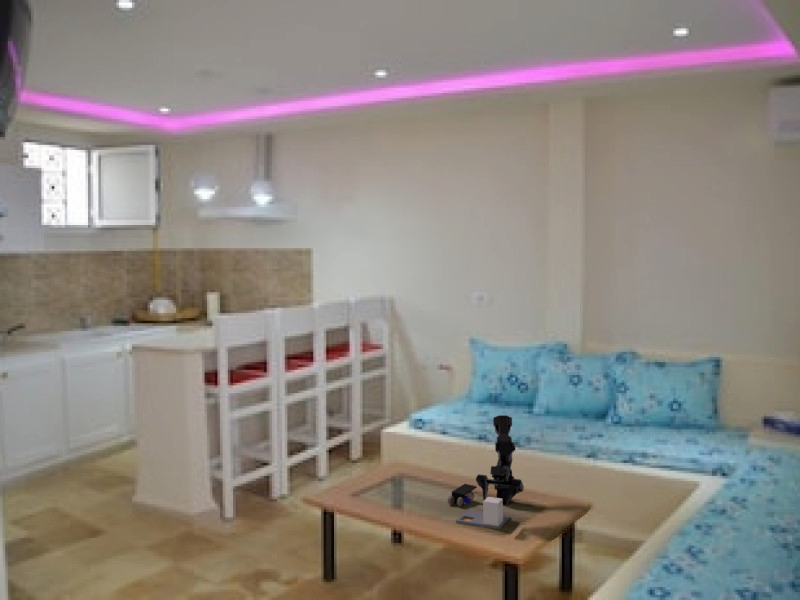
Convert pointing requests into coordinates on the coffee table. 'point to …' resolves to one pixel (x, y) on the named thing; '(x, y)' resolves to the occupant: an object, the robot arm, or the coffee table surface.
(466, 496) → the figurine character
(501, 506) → the pale grey block
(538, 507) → the coffee table surface
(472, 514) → the socket plate
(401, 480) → the coffee table surface
